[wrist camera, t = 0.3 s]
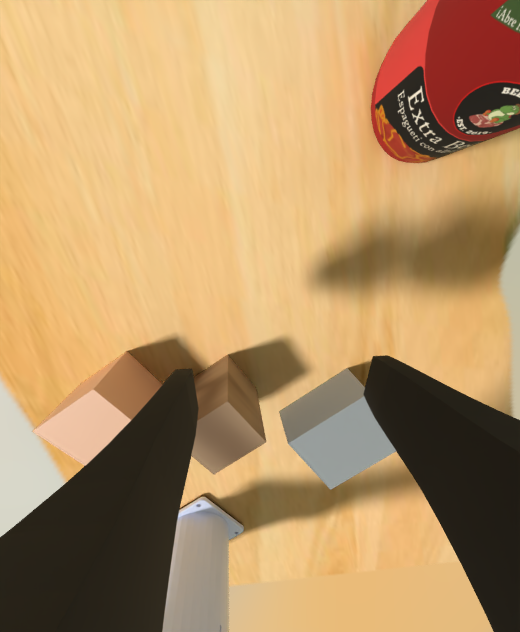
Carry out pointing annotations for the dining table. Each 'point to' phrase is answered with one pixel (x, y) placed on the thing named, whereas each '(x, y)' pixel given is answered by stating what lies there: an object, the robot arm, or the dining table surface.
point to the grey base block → (335, 430)
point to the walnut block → (226, 416)
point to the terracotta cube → (99, 408)
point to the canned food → (449, 79)
